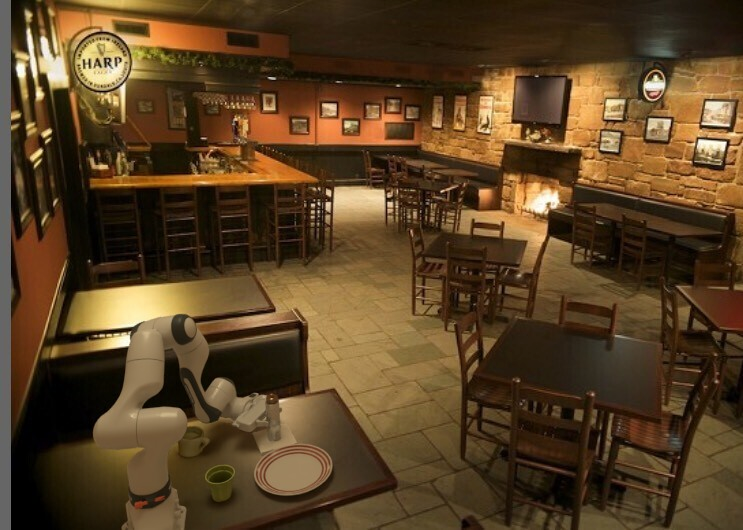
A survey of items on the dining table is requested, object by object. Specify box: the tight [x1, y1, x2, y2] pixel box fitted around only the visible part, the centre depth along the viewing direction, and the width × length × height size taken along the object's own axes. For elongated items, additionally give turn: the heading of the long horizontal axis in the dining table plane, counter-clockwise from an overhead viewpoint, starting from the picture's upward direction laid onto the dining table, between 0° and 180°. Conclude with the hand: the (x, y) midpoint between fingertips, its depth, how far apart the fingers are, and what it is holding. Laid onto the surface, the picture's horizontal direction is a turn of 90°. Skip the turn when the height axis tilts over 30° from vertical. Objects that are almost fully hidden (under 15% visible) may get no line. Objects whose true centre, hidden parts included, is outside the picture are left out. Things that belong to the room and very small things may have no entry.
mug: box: [177, 425, 211, 458], centre depth 191 cm, size 12×10×10 cm
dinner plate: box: [253, 443, 333, 497], centre depth 181 cm, size 27×27×3 cm
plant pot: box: [204, 464, 236, 503], centre depth 169 cm, size 9×9×9 cm
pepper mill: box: [265, 392, 281, 442], centre depth 196 cm, size 5×5×20 cm
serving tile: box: [252, 423, 298, 456], centre depth 199 cm, size 14×14×1 cm
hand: (275, 416), depth 196 cm, fingers open, 8 cm apart
